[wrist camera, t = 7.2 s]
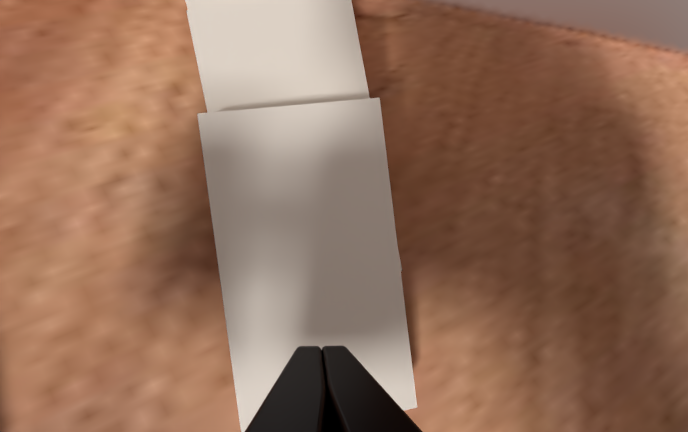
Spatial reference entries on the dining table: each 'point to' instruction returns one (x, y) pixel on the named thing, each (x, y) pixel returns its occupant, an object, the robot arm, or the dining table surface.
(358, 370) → the robot arm
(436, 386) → the dining table surface
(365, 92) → the domino
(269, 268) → the domino
